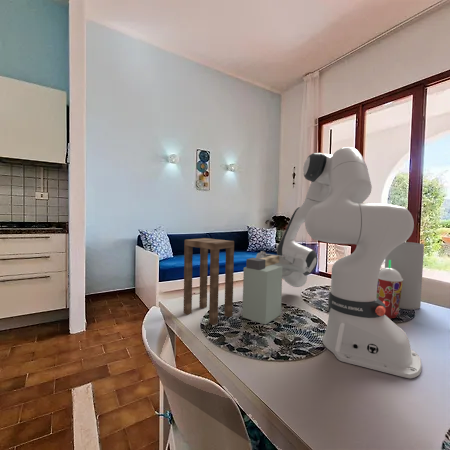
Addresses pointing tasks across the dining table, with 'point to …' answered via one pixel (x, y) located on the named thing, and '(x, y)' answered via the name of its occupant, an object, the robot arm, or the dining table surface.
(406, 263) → the cylinder vase
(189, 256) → the plant stand
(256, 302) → the pale green block
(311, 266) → the robot arm
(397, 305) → the smoothie
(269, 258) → the mallet
